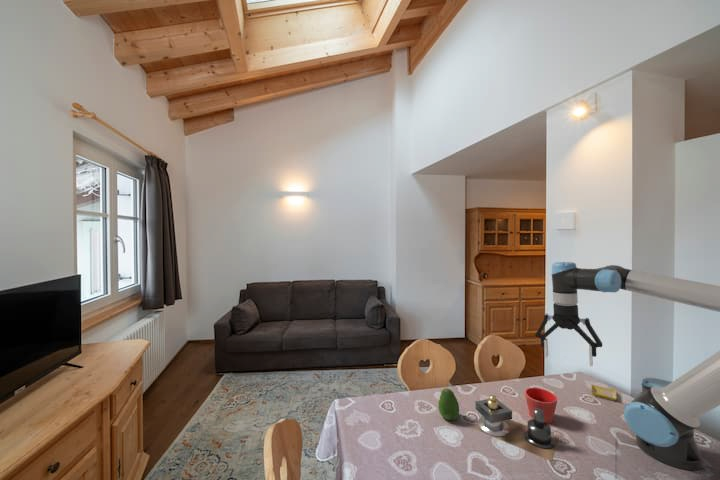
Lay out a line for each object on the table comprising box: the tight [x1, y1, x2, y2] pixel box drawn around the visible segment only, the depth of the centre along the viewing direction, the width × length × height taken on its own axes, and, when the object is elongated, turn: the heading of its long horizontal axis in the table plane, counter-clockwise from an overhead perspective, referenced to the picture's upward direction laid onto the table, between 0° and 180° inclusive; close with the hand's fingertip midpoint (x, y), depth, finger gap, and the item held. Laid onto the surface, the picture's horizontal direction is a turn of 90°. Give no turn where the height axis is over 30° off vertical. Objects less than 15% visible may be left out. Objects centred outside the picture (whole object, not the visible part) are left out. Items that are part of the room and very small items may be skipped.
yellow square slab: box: [590, 384, 618, 402], centre depth 129 cm, size 9×9×2 cm
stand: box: [525, 408, 555, 449], centre depth 102 cm, size 9×9×10 cm
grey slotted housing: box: [474, 398, 513, 423], centre depth 109 cm, size 9×9×3 cm
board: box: [473, 416, 559, 462], centre depth 106 cm, size 25×14×1 cm, turn 48°
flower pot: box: [524, 387, 558, 424], centre depth 114 cm, size 11×11×10 cm
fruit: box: [438, 387, 460, 421], centre depth 116 cm, size 8×8×12 cm
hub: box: [477, 394, 510, 438], centre depth 109 cm, size 11×11×12 cm
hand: (568, 360), depth 108 cm, fingers open, 13 cm apart
